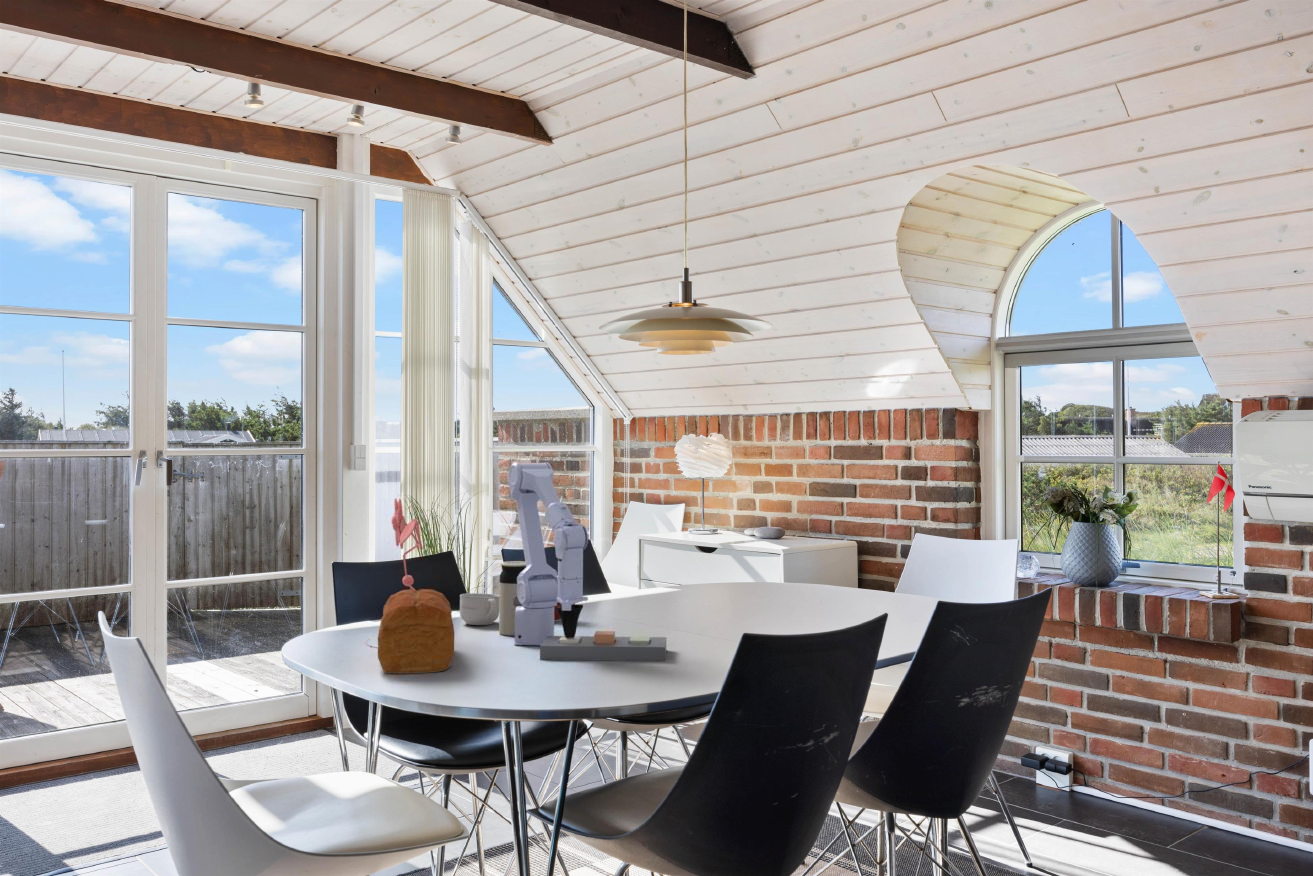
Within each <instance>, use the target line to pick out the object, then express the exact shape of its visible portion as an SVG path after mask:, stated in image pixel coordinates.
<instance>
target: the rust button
mask: <svg viewBox="0 0 1313 876" xmlns="http://www.w3.org/2000/svg"><path fill="white" fill-rule="evenodd" d="M593 636H594V643H597V644H615V637H616V631H615V630H595V632H594V635H593Z"/></svg>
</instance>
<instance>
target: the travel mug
mask: <svg viewBox="0 0 1313 876" xmlns="http://www.w3.org/2000/svg"><path fill="white" fill-rule="evenodd" d="M500 566H501V570H502V571H501V572H500V574H499V576H498V577H499V578H498V579H499V582H498V583H499V594H498V595H499V615H498V624H499V625H498V626H499V627H498V631H499V632H498V633H499V634H500V635H502V636H506V637H515V611H516V607H517V606H522V604H521V603H520V602H519V600H518V597H517V577H518V575H519V574H520V573H521V572H522V571H523V570H524V569H525V568H526V562H525V560H524V561H521V560H517V561H516V560H515V561H514V560H512V561H510V560H509V561H502V562H500Z"/></svg>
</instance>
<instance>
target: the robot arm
mask: <svg viewBox="0 0 1313 876" xmlns="http://www.w3.org/2000/svg"><path fill="white" fill-rule="evenodd" d="M507 482H508V486H509V487H508V488H509V493H510V498H511V499H513V500H514V501H515V502H516V511H517V516H518V522H519V523H518V524H519V529H520V535H521V536H520V537H521V541H522V548H523V555H524V556H523V557H524V562H526V568H525V569H524V570H523V571H522V572H521V573H520V574H519V575H518V577H517V597H518V600H519V602H520V603H521V604H522V606H517V607H516V611H515V636H514V643H513V645H514V646H540V645H541V644H542V643H543V641H544V640H545V639H546V637H547V636H555V622H554V606H557V603H558V602H560V603H561V604H562V606H558V607H557V611H558V613H559V615H560V617H561V624H562V629H563V633H564V634H563V636H565V638H574V637H575V636H576V635H577V628H578V624H579V623H578V621H579V618H580V615H581V612H582V610H583V608H584V605H583V604H579V603H580V602H581V603H582V602H588V600H589V596H583V593H584V592H583V591H584V590H583V589H584V588H583V585H584V583H583V581H584V550H585V549H586V548H587V547H588V543H589V535H588V530H587V528H586V526H585V525H584V524H581V523H580V522H577V521H576V520H575V518H574V516H573V514H572V512H571V510H570V508H569V506H568V505H567V503H565V502H562V501H560V499H559V496H558V494H557V491H556V488H555V486H554V484H553V482H554V470H553V467H552V465H551V464H550V463H549V462H546V461H545V462H513V463H512V464H511V465H510V467H509V470H508V475H507ZM539 500H540V501H541V502H542V504H543V505H544V507H545V508H546V509H545V512H544V517H545V519H546V520H547V523H548V525H549V526H550V528H551V530H552V532H553V538H552V541H553V546H554V548H555V558H557V570H556V569H554V568H553V567H551V565H549V564H548V563H547V558H546V557H547V556H546V552H545V545H544V539H543V532H542V526H541V520H540V515H539V509H538V502H539Z"/></svg>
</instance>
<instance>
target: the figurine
mask: <svg viewBox="0 0 1313 876" xmlns="http://www.w3.org/2000/svg"><path fill="white" fill-rule="evenodd" d="M393 502H394V503H393V504H394V507H393V508H394V513H393V515H392V518H391V525H392V529H393V531H395V532H394V533H395V535H394V537H395V539H394V540H395V545H396V547H399V546H400V547H399V548H400V549H401V550H403V549H404V543H405V542H406V541H407V540H408V539H409V537H410V536H411V537H412V538H413V540H414V541H415V543H416V544H415V545H414V546H412V547H411V548H410V549H408V550H406V551H405V552H404V553H403V555H402V559H403V567H404V573H405V574H404V576H403V578H402V584H403V585H404V586H405V587H409V589H412V590H416V589H415V588H414V587H413V586H412V585H413V584H414V578H413V576H412V575H410V574H408V571H407V561H406V556H407V554H408V553H410V552H412V551H413V550H415V549H416V548H417V547H418V549H420V550H421V551H422V550H423V544H422V540H421V531H420V521H419V520H416V519H415V518H413V519H412V520H411V521H410V522H408V523H407V522H406V519H405V518H406V517H405V516H404V515H403V514H404V513H403V503H402V502H403V501H402V499H401V498H398V499H397V497H395V498H394V500H393ZM414 531H415V534H416V535H415V534H414ZM367 641H370V638H368V639H367ZM363 644H365V645H366V646H368V647H369V648H371V649H372V648H373V649H374V648H375V649H378V646H373V645H369V644H367V643H363Z"/></svg>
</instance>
